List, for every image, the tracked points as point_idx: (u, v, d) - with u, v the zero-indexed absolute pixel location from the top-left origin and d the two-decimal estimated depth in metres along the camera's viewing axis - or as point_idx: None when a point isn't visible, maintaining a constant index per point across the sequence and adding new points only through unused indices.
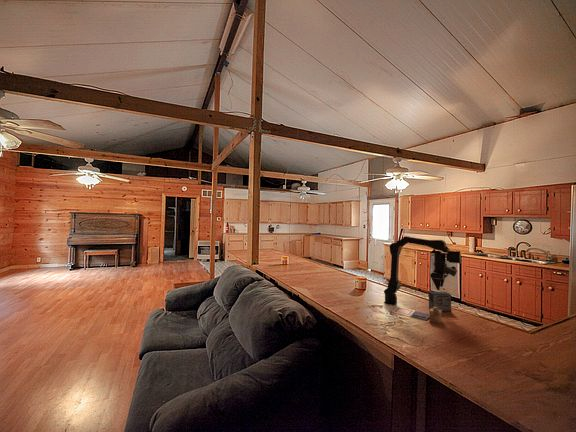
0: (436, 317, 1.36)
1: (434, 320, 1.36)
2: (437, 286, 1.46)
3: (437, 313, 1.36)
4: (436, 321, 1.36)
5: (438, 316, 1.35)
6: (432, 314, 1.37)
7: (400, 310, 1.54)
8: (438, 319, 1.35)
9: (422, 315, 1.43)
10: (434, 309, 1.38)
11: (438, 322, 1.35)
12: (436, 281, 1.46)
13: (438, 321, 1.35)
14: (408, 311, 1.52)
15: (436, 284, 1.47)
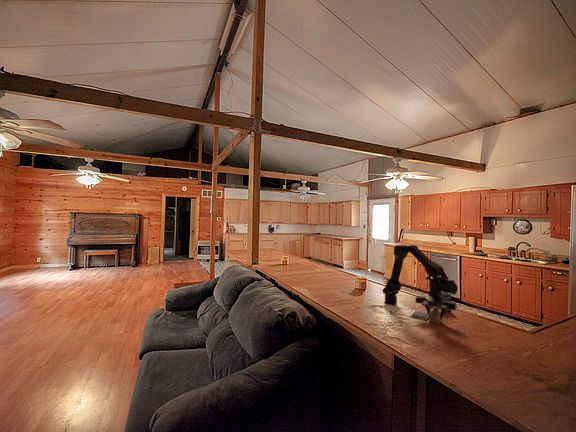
0: (436, 317, 1.36)
1: (434, 320, 1.36)
2: None
3: (437, 313, 1.36)
4: (436, 321, 1.36)
5: (438, 316, 1.35)
6: (432, 314, 1.37)
7: (400, 310, 1.54)
8: (438, 319, 1.35)
9: (422, 315, 1.43)
10: (434, 309, 1.38)
11: (438, 322, 1.35)
12: None
13: (438, 321, 1.35)
14: (408, 311, 1.52)
15: None
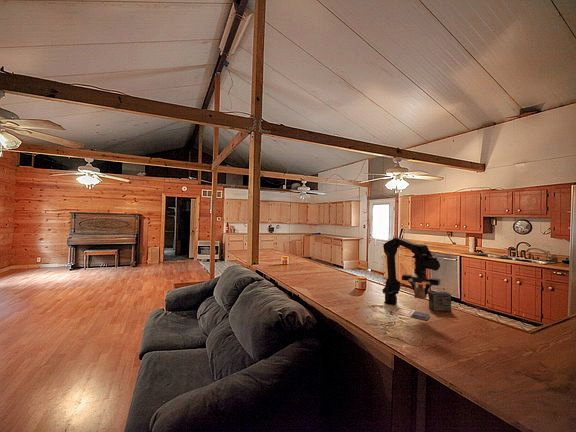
0: (420, 293, 1.43)
1: (419, 296, 1.43)
2: None
3: (421, 289, 1.42)
4: (420, 297, 1.43)
5: (422, 292, 1.42)
6: (417, 290, 1.44)
7: (400, 310, 1.54)
8: (422, 295, 1.42)
9: (422, 315, 1.43)
10: (419, 286, 1.45)
11: (422, 297, 1.42)
12: None
13: (422, 297, 1.42)
14: (408, 311, 1.52)
15: None
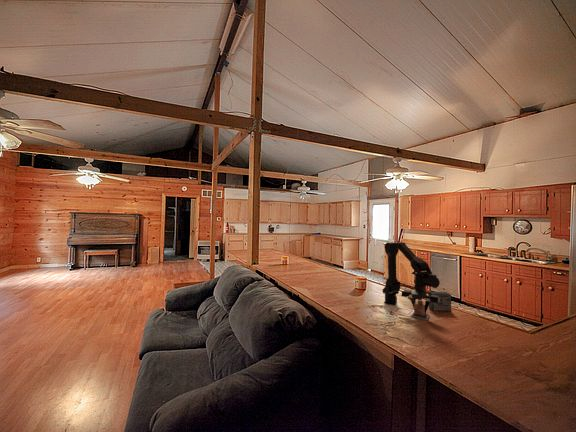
0: (420, 310, 1.43)
1: (418, 313, 1.43)
2: None
3: (421, 306, 1.42)
4: (420, 313, 1.43)
5: (422, 309, 1.42)
6: (417, 307, 1.44)
7: (400, 310, 1.54)
8: (422, 311, 1.42)
9: None
10: (419, 302, 1.45)
11: (422, 314, 1.42)
12: None
13: (422, 313, 1.42)
14: (408, 311, 1.52)
15: None
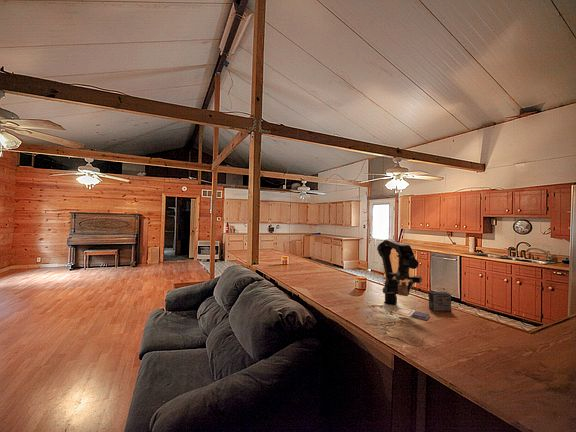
0: (403, 290, 1.51)
1: (402, 293, 1.51)
2: None
3: (404, 286, 1.50)
4: (403, 294, 1.50)
5: (405, 289, 1.50)
6: (400, 287, 1.52)
7: (400, 310, 1.54)
8: (405, 292, 1.50)
9: (422, 315, 1.43)
10: (402, 283, 1.52)
11: (405, 294, 1.50)
12: None
13: (405, 293, 1.50)
14: (408, 311, 1.52)
15: None
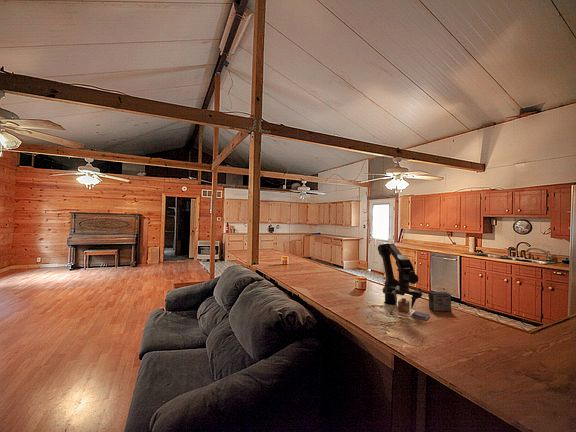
0: (403, 307, 1.50)
1: (402, 310, 1.51)
2: None
3: (404, 303, 1.50)
4: (404, 310, 1.50)
5: (405, 306, 1.50)
6: (400, 304, 1.52)
7: None
8: (405, 309, 1.50)
9: (422, 315, 1.43)
10: (402, 300, 1.52)
11: (405, 311, 1.50)
12: None
13: (405, 310, 1.50)
14: None
15: None
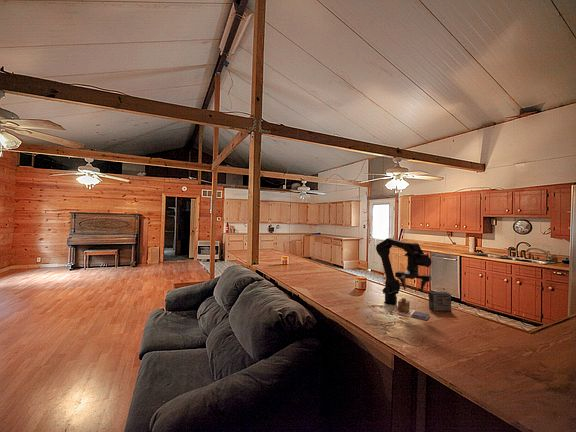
0: (403, 307, 1.50)
1: (402, 310, 1.51)
2: None
3: (404, 303, 1.50)
4: (404, 310, 1.50)
5: (405, 306, 1.50)
6: (400, 304, 1.52)
7: None
8: (405, 309, 1.50)
9: (422, 315, 1.43)
10: (402, 300, 1.52)
11: (405, 311, 1.50)
12: None
13: (405, 310, 1.50)
14: None
15: None
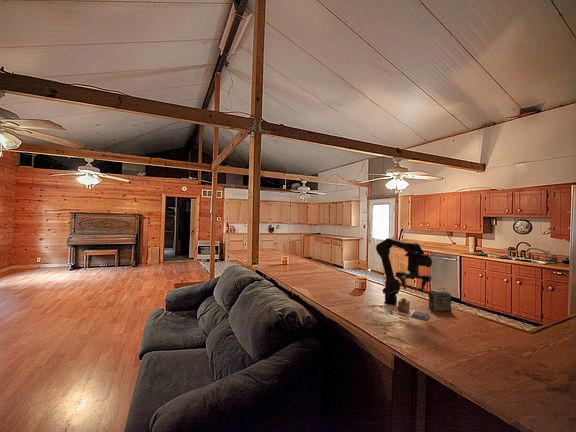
0: (403, 307, 1.50)
1: (402, 310, 1.51)
2: None
3: (404, 303, 1.50)
4: (404, 310, 1.50)
5: (405, 306, 1.50)
6: (400, 304, 1.52)
7: None
8: (405, 309, 1.50)
9: (422, 315, 1.43)
10: (402, 300, 1.52)
11: (405, 311, 1.50)
12: None
13: (405, 310, 1.50)
14: None
15: None
